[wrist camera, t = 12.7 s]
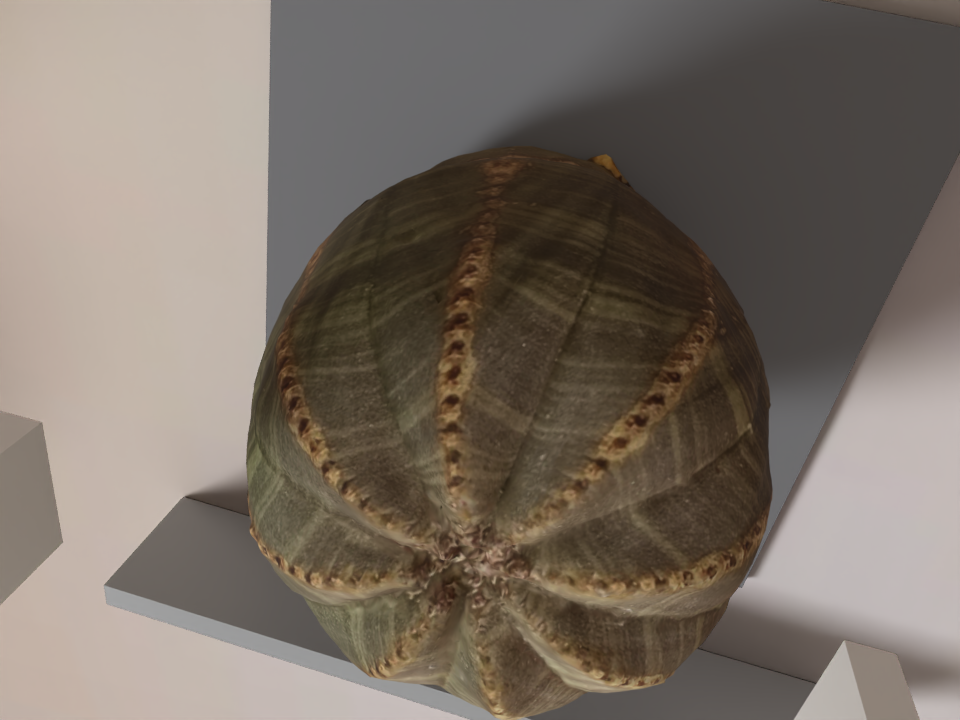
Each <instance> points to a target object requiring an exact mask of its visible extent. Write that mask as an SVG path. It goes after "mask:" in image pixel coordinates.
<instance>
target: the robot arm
mask: <svg viewBox="0 0 960 720" xmlns="http://www.w3.org/2000/svg"><path fill="white" fill-rule="evenodd" d="M62 543H63V540H62V534H61V529H60V523H59V517H58V512H57V506H56V500H55V494H54V489H53V483H52V477H51V471H50V466H49V460H48V454H47V448H46V443H45V437H44V431H43V425H42V422H40V421H36V420H32V419H28V418H25V417H21V416H17V415H14V414H10V413H6V412H3V411H0V605H1V604H2V603H3V602H4V601H5V600H6V599H7V598H8V597H9V596H10V595H11V594H12V593H13V592H14V591H15V590H16V589H17V588H18V587H19V586H20V585H21V584H22V583H23V582H24V581H25V580H26V579H27V578H28V577H29V576H30V575H31V574H32V573H33V572H34V571H35V570H36V569H37V568H38V567H39V566H40V565H41V564H42V563H43V562H44V561H45V560H46V559H47V558H48V557H49V556H50V555H51V554H52V553H53V552H54V551H55V550H56V549H57V548H58V547H59V546H60V545H61V544H62ZM794 720H920V719H919V716H918V713H917V711H916V708H915V705H914V702H913V699H912V696H911V694H910V691H909V688H908V685H907V682H906V680H905V677H904V674H903V671H902V668H901V665H900V663H899V660H898V657H897V654H894V653H891V652H887V651H883V650H880V649H876V648H872V647H869V646H865V645H861V644H858V643H854V642H850V641H846V640H844V641H843V643H842V644H841V646H840V647H839V649H838V650H837V652H836V654H835V655H834V657H833V658H832V660H831V662H830V663H829V665H828V666H827V668H826V669H825V671H824V673H823V674H822V676H821V677H820V679H819V681H818V682H817V684H816V685H815V687H814V688H813V690H812V692H811V693H810V695H809V696H808V698H807V699H806V701H805V703H804V704H803V706H802V707H801V709H800V711H799V712H798V714H797V715H796V717H795V718H794Z"/></svg>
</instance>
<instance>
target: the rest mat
mask: <svg viewBox="0 0 960 720" xmlns="http://www.w3.org/2000/svg"><path fill="white" fill-rule="evenodd" d="M511 146H534V147H538V148H542V149H546V150H550V151H554V152H558V153H562V154H565V155H568V156H571V157H574V158H577V159H582V160H588V159H589V158H591V157H596V156H600V155H605V154H606V155H608V156H609V157H611V158H612V160H613V162H614V163H615V165H616V167H617V169H618V170H619V171H620V173H621V174H622V175H623V176H624V178H625V179H626V180H627V181H628V183H629V184H630V185H631V186H632V188H633V189H634V190H635V191H636V192H637V193H638V194H640V195H641V196H642V197H644V198H645V199H646V200H648V201H649V202H650V203H651V204H652V205H653V206H654V207H655V208H657V209H658V210H659V211H660V212H661V213H662V214H663V215H664V216H665V217H666V218H667V219H668V220H670V221H671V222H672V223H673V224H675V225H676V226H677V227H678V228H679V229H680V230H681V231H682V232H683V233H684V234H686V235H687V236H688V237H690V238H691V239H692V240H693V241H694V242H695V243H696V244H697V245H698V246H699V247H700V248H701V249H702V250H703V252H704V253H705V254H706V255H707V257H708V258H709V259H710V260H711V262H712V263H713V264H714V266H715V267H716V269H717V270H718V272H719V273H720V275H721V276H722V277H723V278H724V280H725V281H726V283H727V284H728V286H729V288H730V289H731V291H732V293H733V294H734V296H735V298H736V299H737V301H738V303H739V304H740V306H741V307H742V309H743V311H744V316H745V318H746V320H747V323H748V325H749V326H750V328H751V330H752V332H753V334H754V337H755V340H756V343H757V346H758V349H759V352H760V354H761V357H762V360H763V363H764V369H765V375H766V378H767V382H768V386H769V390H770V404H771V406H770V409H769V444H768V447H769V464H770V473H771V478H772V488H773V494H772V501H771V505H770V511H769V516H768V521H767V526H766V531H765V533H764V535H763V538H762V541H761V544H760V546H759V549H758V551H757V554H756V556H755V558H754V561H753V563H752V565H751V567H750V569H749V571H748V573H747V574H746V576H745V578H744V580H743V581H742V583H741V584H740V586H739V587H741V588H742V587H743V585H744V583H745V581H746V579H747V577H748V575H749V573H750V571H751V569H752V567H753V565H754V563H755V561H756V559H757V557H758V555H759V553H760V551H761V549H762V547H763V545H764V543H765V541H766V539H767V537H768V535H769V533H770V531H771V529H772V527H773V525H774V523H775V521H776V519H777V517H778V515H779V513H780V511H781V509H782V507H783V505H784V503H785V501H786V499H787V497H788V495H789V493H790V491H791V489H792V487H793V485H794V483H795V481H796V479H797V477H798V475H799V473H800V471H801V469H802V467H803V465H804V463H805V461H806V459H807V457H808V455H809V453H810V451H811V449H812V447H813V445H814V443H815V441H816V439H817V437H818V435H819V433H820V431H821V429H822V427H823V425H824V423H825V421H826V419H827V417H828V415H829V413H830V411H831V409H832V407H833V405H834V403H835V401H836V399H837V397H838V395H839V393H840V391H841V389H842V387H843V385H844V383H845V381H846V379H847V377H848V375H849V373H850V371H851V369H852V367H853V365H854V363H855V361H856V359H857V357H858V355H859V353H860V351H861V349H862V347H863V345H864V343H865V341H866V339H867V337H868V335H869V333H870V331H871V329H872V327H873V325H874V323H875V321H876V319H877V317H878V315H879V313H880V311H881V309H882V307H883V305H884V303H885V301H886V299H887V297H888V295H889V293H890V291H891V289H892V287H893V285H894V283H895V281H896V279H897V277H898V275H899V273H900V271H901V269H902V267H903V265H904V263H905V261H906V259H907V257H908V255H909V253H910V251H911V249H912V247H913V245H914V243H915V241H916V239H917V237H918V235H919V233H920V231H921V229H922V227H923V225H924V223H925V221H926V219H927V217H928V215H929V213H930V211H931V209H932V207H933V205H934V203H935V201H936V199H937V197H938V195H939V193H940V191H941V189H942V187H943V185H944V183H945V181H946V179H947V177H948V175H949V173H950V171H951V169H952V167H953V165H954V163H955V161H956V159H957V157H958V155H959V153H960V27H957V26H952V25H947V24H942V23H937V22H932V21H926V20H921V19H916V18H911V17H906V16H901V15H895V14H890V13H885V12H880V11H875V10H869V9H864V8H859V7H854V6H849V5H844V4H838V3H833V2H828V1H823V0H271V28H270V95H269V163H268V230H267V298H266V345H267V342H268V339H269V336H270V334H271V331H272V329H273V327H274V325H275V323H276V321H277V318H278V316H279V314H280V312H281V309H282V307H283V304H284V302H285V300H286V298H287V297H288V295H289V294H290V292H291V290H292V289H293V287H294V286H295V284H296V283H297V281H298V280H299V278H300V276H301V274H302V273H303V271H304V269H305V267H306V265H307V264H308V262H309V260H310V259H311V257H312V256H313V254H314V253H315V251H316V250H317V248H318V247H319V246H320V245H321V244H322V243H323V241H324V240H325V239H326V238H327V237H328V236H329V235H330V234H331V233H332V232H333V231H334V230H335V229H336V227H337V226H338V225H339V224H340V223H341V222H342V221H343V220H344V218H345V217H347V216H348V215H349V214H350V213H352V212H353V211H354V210H355V209H357V208H358V207H359V206H360V205H361V204H363V203H364V202H365V201H366V200H368V199H371V198H373V197H374V196H376V195H377V194H379V193H380V192H382V191H384V190H385V189H387V188H389V187H391V186H393V185H395V184H397V183H399V182H400V181H402V180H404V179H406V178H409V177H412V176H414V175H417V174H420V173H422V172H424V171H427V170H429V169H431V168H432V167H434V166H435V165H437V164H439V163H440V162H442V161H445V160H448V159H450V158H453V157H456V156H459V155H463V154H469V153H474V152H478V151H482V150H486V149H492V148H501V147H511Z"/></svg>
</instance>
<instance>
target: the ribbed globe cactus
mask: <svg viewBox="0 0 960 720" xmlns="http://www.w3.org/2000/svg"><path fill="white" fill-rule="evenodd" d="M770 406H771V404H770V390H769V386H768V382H767V378H766V375H765V369H764V363H763V360H762V357H761V354H760V352H759V349H758V346H757V343H756V340H755V337H754V334H753V332H752V330H751V328H750V326H749V325H748V323H747V320H746V318H745V316H744V311H743V309H742V307H741V306H740V304H739V303H738V301H737V299H736V298H735V296H734V294H733V293H732V291H731V289H730V288H729V286H728V284H727V283H726V281H725V280H724V278H723V277H722V276H721V275H720V273H719V272H718V270H717V269H716V267H715V266H714V264H713V263H712V262H711V260H710V259H709V258H708V257H707V255H706V254H705V253H704V252H703V250H702V249H701V248H700V247H699V246H698V245H697V244H696V243H695V242H694V241H693V240H692V239H691V238H690V237H688V236H687V235H686V234H684V233H683V232H682V231H681V230H680V229H679V228H678V227H677V226H676V225H675V224H673V223H672V222H671V221H670V220H668V219H667V218H666V217H665V216H664V215H663V214H662V213H661V212H660V211H659V210H658V209H657V208H655V207H654V206H653V205H652V204H651V203H650V202H649V201H648V200H646V199H645V198H644V197H642V196H641V195H640V194H638V193H637V192H636V191H635V190H634V189H633V188H632V186H631V185H630V184H629V183H628V181H627V180H626V179H625V178H624V176H623V175H622V174H621V173H620V171H619V170H618V169H617V167H616V165H615V163H614V162H613V160H612V158H611V157H609V156H608V155H606V154H605V155H600V156H596V157H591V158H589V159H588V160H582V159H577V158H574V157H571V156H568V155H565V154H562V153H558V152H554V151H550V150H546V149H542V148H538V147H534V146H511V147H501V148H492V149H486V150H482V151H478V152H474V153H469V154H463V155H459V156H456V157H453V158H450V159H448V160H445V161H442V162H440V163H439V164H437V165H435V166H434V167H432V168H431V169H429V170H427V171H424V172H422V173H420V174H417V175H414V176H412V177H409V178H406V179H404V180H402V181H400V182H399V183H397V184H395V185H393V186H391V187H389V188H387V189H385V190H384V191H382V192H380V193H379V194H377V195H376V196H374V197H373V198H371V199H368V200H366V201H365V202H364V203H363V204H361V205H360V206H359V207H358V208H357V209H355V210H354V211H353V212H352V213H350V214H349V215H348V216H347V217H345V218H344V220H343V221H342V222H341V223H340V224H339V225H338V226H337V227H336V229H335V230H334V231H333V232H332V233H331V234H330V235H329V236H328V237H327V238H326V239H325V240H324V241H323V243H322V244H321V245H320V246H319V247H318V248H317V250H316V251H315V253H314V254H313V256H312V257H311V259H310V260H309V262H308V264H307V265H306V267H305V269H304V271H303V273H302V274H301V276H300V278H299V280H298V281H297V283H296V284H295V286H294V287H293V289H292V290H291V292H290V294H289V295H288V297H287V298H286V300H285V302H284V304H283V307H282V309H281V312H280V314H279V316H278V318H277V321H276V323H275V325H274V327H273V329H272V331H271V334H270V336H269V339H268V342H267V345H266V348H265V351H264V354H263V357H262V360H261V363H260V366H259V369H258V373H257V377H256V380H255V383H254V392H253V399H252V408H251V420H250V426H249V432H248V442H247V459H246V465H247V478H248V493H247V498H248V510H249V514H250V518H251V525H250V528H249V530H250V533H251V536H252V537H253V538H254V539H255V540H256V541H257V543H258V546H259V548H260V550H261V553H262V554H263V555H264V556H265V557H266V559H267V560H268V561H269V562H270V564H271V566H272V567H273V569H274V571H275V572H276V573H277V575H278V576H279V577H280V578H281V579H282V580H283V582H284V583H285V584H286V585H287V586H288V587H289V588H290V589H291V590H292V591H294V592H296V593H298V594H300V595H302V596H303V597H304V599H305V600H306V602H307V604H308V606H309V607H310V609H311V610H312V612H313V613H314V615H315V616H316V618H317V619H318V621H319V623H320V625H321V626H322V627H323V629H324V630H325V631H326V633H327V634H328V635H329V637H330V638H331V639H332V640H333V641H334V642H335V643H336V644H337V645H338V647H339V648H340V649H341V651H342V652H343V653H344V655H345V656H346V657H347V658H348V659H349V660H350V661H351V662H352V663H353V664H354V665H355V666H357V667H358V668H359V669H360V670H361V671H363V672H364V673H366V674H367V675H368V676H369V677H373V678H377V679H382V680H388V681H396V682H402V683H410V684H431V685H438V686H440V687H442V688H444V689H445V690H446V691H448V692H449V693H451V694H452V695H454V696H456V697H458V698H460V699H462V700H464V701H466V702H468V703H470V704H472V705H474V706H477V707H480V708H482V709H484V710H486V711H488V712H489V713H490V714H492V715H493V716H494V717H495V718H498V719H501V720H517V719H521V718H524V717H528V716H534V715H537V714H540V713H544V712H546V711H550V710H553V709H557V708H560V707H562V706H564V705H566V704H569V703H570V702H572V701H574V700H576V699H578V698H579V697H580V696H581V695H583V694H585V693H588V692H598V693H612V692H622V691H629V690H636V689H642V688H647V687H651V686H654V685H658V684H662V683H665V680H666V679H667V678H669V677H670V676H672V675H673V674H674V672H675V670H676V669H677V668H678V667H679V666H680V665H681V664H682V663H683V662H684V661H685V660H686V659H687V658H688V657H689V656H690V655H691V654H692V653H693V652H694V651H695V650H696V649H697V648H698V647H699V646H700V645H701V644H702V643H703V642H704V641H705V640H706V638H707V637H708V635H709V634H710V633H711V631H712V630H713V628H714V627H715V625H716V624H717V623H718V621H719V620H720V619H721V617H722V615H723V614H724V612H725V610H726V609H727V605H728V602H729V599H730V597H731V596H732V595H733V593H734V592H735V591H736V590H737V588H738V587H739V586H740V584H741V583H742V581H743V580H744V578H745V576H746V574H747V573H748V571H749V569H750V567H751V565H752V563H753V561H754V558H755V556H756V554H757V551H758V549H759V546H760V544H761V541H762V538H763V535H764V533H765V531H766V526H767V521H768V516H769V511H770V505H771V501H772V494H773V488H772V478H771V473H770V464H769V447H768V444H769V409H770Z"/></svg>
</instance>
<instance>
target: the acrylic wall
mask: <svg viewBox="0 0 960 720" xmlns="http://www.w3.org/2000/svg"><path fill="white" fill-rule="evenodd" d="M250 525H251V518H250V516H247V515H243V514H240V513H236V512H233V511H230V510H226V509H223V508H219V507H216V506H213V505H209V504H206V503H203V502H199V501H196V500H192V499H189V498H186V497H183V498H182V499H181V500H180V501H179V502H178V503H177V504H176V506H175V507H174V508H173V509H172V510H171V511H170V512H169V513H168V514H167V516H166V517H165V518H164V519H163V520H162V521H161V522H160V523H159V524H158V526H157V527H156V528H155V529H154V530H153V531H152V532H151V533H150V534H149V536H148V537H147V538H146V539H145V540H144V541H143V542H142V543H141V544H140V546H139V547H138V548H137V549H136V550H135V551H134V552H133V553H132V555H131V556H130V557H129V558H128V559H127V560H126V561H125V562H124V563H123V565H122V566H121V567H120V568H119V569H118V570H117V571H116V572H115V573H114V575H113V576H112V577H111V578H110V579H109V580H108V581H107V582H106V583H105V585H104V589H105V596H106V603H107V604H108V605H111V606H114V607H117V608H120V609H123V610H127V611H130V612H133V613H136V614H139V615H142V616H146V617H149V618H152V619H155V620H158V621H161V622H164V623H168V624H171V625H174V626H177V627H180V628H183V629H186V630H190V631H193V632H196V633H199V634H202V635H205V636H209V637H212V638H215V639H218V640H221V641H224V642H227V643H231V644H234V645H237V646H240V647H243V648H246V649H250V650H253V651H256V652H259V653H262V654H265V655H268V656H272V657H275V658H278V659H281V660H284V661H287V662H290V663H294V664H297V665H300V666H303V667H306V668H309V669H313V670H316V671H319V672H322V673H325V674H328V675H331V676H335V677H338V678H341V679H344V680H347V681H350V682H354V683H357V684H360V685H363V686H366V687H369V688H372V689H376V690H379V691H382V692H385V693H388V694H391V695H394V696H398V697H401V698H404V699H407V700H410V701H413V702H417V703H420V704H423V705H426V706H429V707H432V708H435V709H439V710H442V711H445V712H448V713H451V714H454V715H458V716H461V717H464V718H467V719H470V720H501V719H498V718H495V717H494V716H493V715H492V714H490V713H489V712H488V711H486V710H484V709H482V708H480V707H477V706H474V705H472V704H470V703H468V702H466V701H464V700H462V699H460V698H458V697H456V696H454V695H452V694H451V693H449V692H448V691H446V690H445V689H444V688H442V687H440V686H438V685H431V684H410V683H402V682H396V681H388V680H382V679H377V678H373V677H369V676H368V675H367V674H366V673H364V672H363V671H361V670H360V669H359V668H358V667H357V666H355V665H354V664H353V663H352V662H351V661H350V660H349V659H348V658H347V657H346V656H345V655H344V653H343V652H342V651H341V649H340V648H339V647H338V645H337V644H336V643H335V642H334V641H333V640H332V639H331V638H330V637H329V635H328V634H327V633H326V631H325V630H324V629H323V627H322V626H321V625H320V623H319V621H318V619H317V618H316V616H315V615H314V613H313V612H312V610H311V609H310V607H309V606H308V604H307V602H306V600H305V599H304V597H303V596H302V595H300V594H298V593H296V592H294V591H292V590H291V589H290V588H289V587H288V586H287V585H286V584H285V583H284V582H283V580H282V579H281V578H280V577H279V576H278V575H277V573H276V572H275V571H274V569H273V567H272V566H271V564H270V562H269V561H268V560H267V559H266V557H265V556H264V555H263V554H262V553H261V550H260V548H259V546H258V543H257V541H256V540H255V539H254V538H253V537H252V536H251V533H250V530H249V528H250ZM815 685H816V684H815V683H811V682H808V681H805V680H801V679H798V678H795V677H791V676H788V675H784V674H781V673H778V672H774V671H771V670H767V669H764V668H761V667H757V666H754V665H751V664H747V663H744V662H740V661H737V660H734V659H730V658H727V657H724V656H720V655H717V654H713V653H710V652H707V651H703V650H700V649H696V650H695V651H694V652H693V653H692V654H691V655H690V656H689V657H688V658H687V659H686V660H685V661H684V662H683V663H682V664H681V665H680V666H679V667H678V668H677V669H676V670H675V672H674V674H673V675H672V676H670V677H669V678H667V679H666V680H665V683H662V684H658V685H654V686H651V687H647V688H642V689H636V690H629V691H622V692H612V693H598V692H588V693H585V694H583V695H581V696H580V697H579V698H578V699H576V700H574V701H572V702H570V703H569V704H566V705H564V706H562V707H560V708H557V709H553V710H550V711H546V712H544V713H540V714H537V715H534V716H528V717H524V718H521V719H517V720H794V718H795V717H796V715H797V714H798V712H799V711H800V709H801V707H802V706H803V704H804V703H805V701H806V699H807V698H808V696H809V695H810V693H811V692H812V690H813V688H814V687H815Z"/></svg>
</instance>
